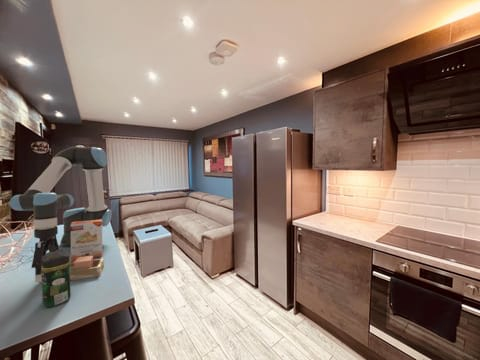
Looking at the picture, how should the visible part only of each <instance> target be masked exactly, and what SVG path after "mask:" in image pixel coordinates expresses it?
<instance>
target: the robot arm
mask: <svg viewBox="0 0 480 360" xmlns="http://www.w3.org/2000/svg"><path fill="white" fill-rule="evenodd" d="M107 164H108V156H107V154H106V151H105V150H104V149H102V148H100V147H94V146H93V147H92V146H91V147H88V146H86V147H85V146H84V147H83V146H71V147H68V148H67V147H66V149H62V150H61V151H59V152H58V153H56V155H54V156H53V157H52V159H51V163H50V164H49V165H48V166H47V167H46V169H44V171H43V172H42V173H41V175H39V176H38V177H37V179H36V180H35V181H34V182H33V183H32V184H31V185H30V187H29V188H28V189H27V190H26V191H25V192H24V193H23V194H16V195H13V196H12V197H11V199H10V201H9V205H10V208H11V209H13V210H14V211H21V212H22V211H23V212H24V211H26V212H27V211H33V221H32V223H33V228H34V230H33V231H34V232H33V233H34V234H33V235H34V236H33V237H34V238H35V239H39V241H38V242H35V244H34V245H35V247H34V253H33V258H32V263H31V268H32V269H34V275H35V276H34V281H35V283H41V282H40V281H42V279H41V261H42V257H43V256H44V255H46V254H47V253H48V251H49V252H52V251H57V250H60V247H64V248H68V247H69V248H71V223H72V222H78V221H90V220H100V219H102V228H103V227H107V226H108V225H109V224H110V223H111V220H112V216H113V215H112V214H113V212H112V210H111V209H108V205H106V204H105V194H104V184H103V174H102V173H103V172H102V171H103V170H104V169H105V166H107ZM73 166H81V170H82V171H84V172H85V173H84V174H85V182H86V189H87V191H86V192H87V198H88V207H87V208H86V207H77V208H72V209H69V208H71V207H72V206H73V205H74V203H75V199H74V196H72V195H71V194H68V193H59V194H57V193H56V192H51V191H52V190H53V188H54V187H55V186H56V185H57V183H58V182H59V180H61V178H62V177H63V176H64V174H65V173H66V171H67V170H70V169H71V168H72V167H73ZM62 210H65V211H64V212H63V217H62V219H63V235H62V237H61V240H60V241H59V242H58V239H57V235H58V233H59V232H58V231H59V229H58V225H59V224H58V212H59V211H62ZM59 243H60V244H59ZM59 246H60V247H59Z"/></svg>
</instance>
